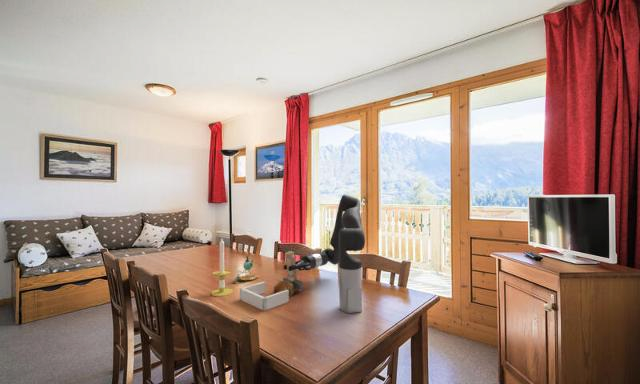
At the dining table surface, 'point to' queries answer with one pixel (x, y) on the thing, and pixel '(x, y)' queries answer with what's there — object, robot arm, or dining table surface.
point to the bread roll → (284, 287)
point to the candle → (221, 275)
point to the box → (263, 303)
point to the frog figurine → (247, 266)
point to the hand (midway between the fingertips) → (286, 268)
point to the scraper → (292, 272)
